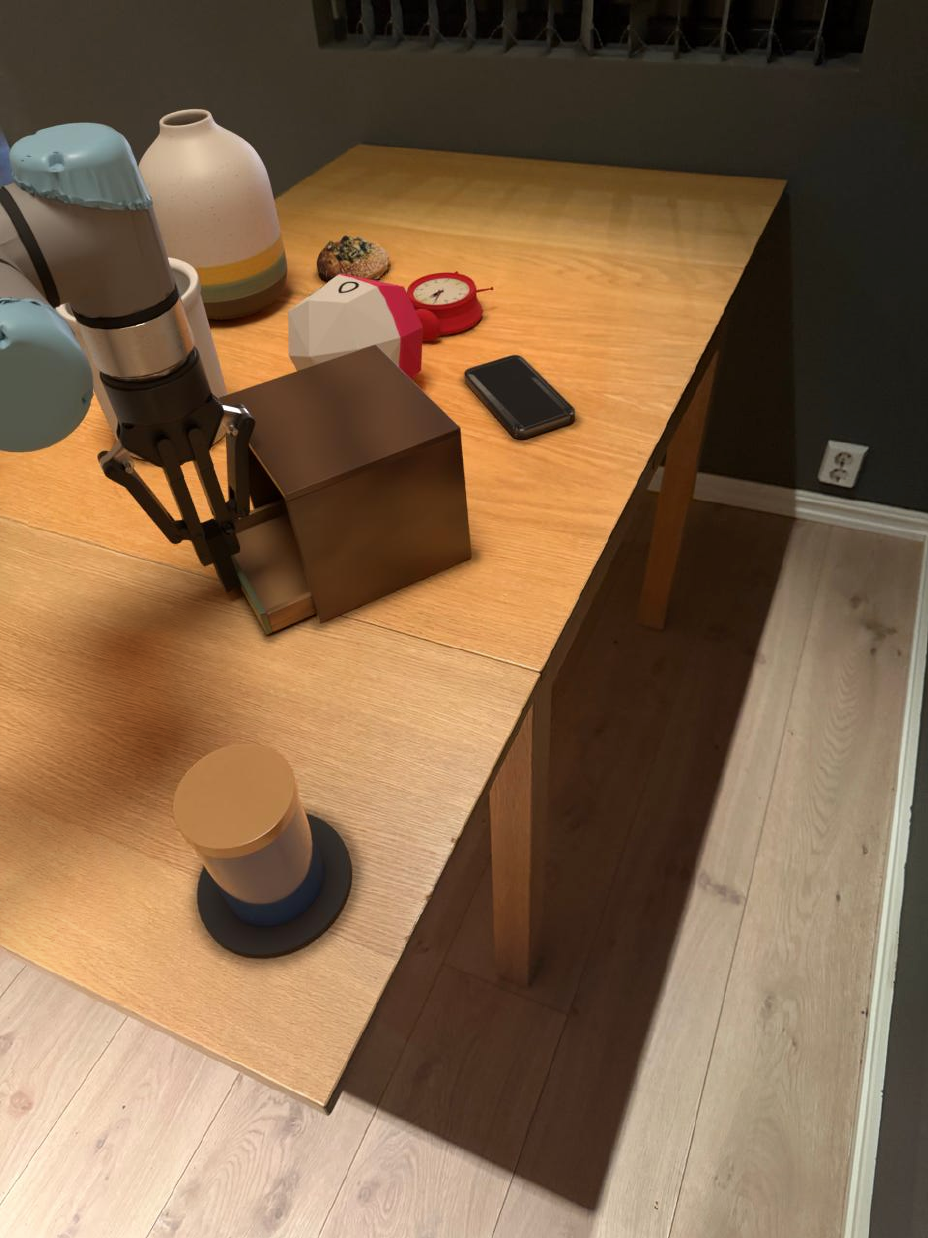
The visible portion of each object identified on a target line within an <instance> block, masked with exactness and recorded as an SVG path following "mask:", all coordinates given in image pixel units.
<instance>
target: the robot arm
mask: <svg viewBox="0 0 928 1238" xmlns="http://www.w3.org/2000/svg"><path fill="white" fill-rule="evenodd" d="M8 160H9V164H10V167H11V170H12V172H11V177H12V179H13V182H12V183H9V184H7V185H3V186H1V188H0V451H1V452H7V453H19V454H21V453H31V452H37V451H41V450H44V449H48V448H50V447H52V446H55V445H56V444H59V443H60V442H62V441H64V440H65V439H66V438H68V437H70V435H72V434H73V433H74V432H75V431H76V430H77V429H78V428H79V427H80V425H81V424H82V422H83V421H84V420H85V418H86V416H87V414H88V412H89V410H90V408H91V404H92V400H93V398H94V396H95V393H94V390H93V374H92V369H91V366H90V363H89V360H88V358H87V356H86V354H85V352H84V350H83V349H82V347H81V346H80V344H79V342H78V341H77V339H76V337H75V333H74V331H73V330H72V328H71V327H70V325H69V324H68V322H67V321H66V320H65V319H64V318H63V317H62V316H61V314H60V313H58V312H57V311H56V308H57V307H60V305H62V304H65V303H68V302H69V304H70V306H71V310H72V312H73V314H74V317H75V318H76V322H77V324H78V327H79V329H80V331H81V334H82V336H83V339H84V341H85V343H86V346H87V348H88V351H89V353H90V355H91V358H92V360H93V363H94V365H95V367H96V368H97V369H98V370H99V371H100V374H99V375H100V379H101V382H102V384H103V386H104V389H105V391H106V394H107V396H108V398H109V401H110V403H111V406H112V408H113V410H114V413H115V415H116V418H117V423H118V424H117V430H116V434H117V437H118V439H119V440H118V441H116V442H115V443H114V445H113V446H112V447H111V448H110V449H109V450H101V451H99V453H98V454H97V457H96V458H97V461H98V463H99V466H100V468H101V470H102V472H103V474H104V476H105V477H106V478H107V479H109V480H111V481H112V482H114V483H116V484H118V485H119V486H121V487H123V488H125V489H126V491H127V492H128V493H129V494H130V496H132V498H133V499H134V500H135V502H136V503H137V504H138V505H139V506H140V507H141V508H142V510H143V512H145V513H146V515H147V516H148V517H149V518H150V520H151V521H152V523H154V524H155V526H156V527H157V529H159V531H161V533H162V534H163V535H164V536H165V538H166V539H167V540H168V542H170V543H171V544H172V545H179V544H181V543H182V542H183V541H190V543H191V545H192V547H193V550H194V552H195V554H196V557H197V559H198V560H199V563H200V564H201V565H202V566H203V567H207V566H210V565H213V568H214V570H215V572H216V575H217V577H218V580H219V581H220V583H221V585H222V586H223V588H224V590H225V592H226V593H231V592H232V591H235V590H237V589H241V588H240V587H242V586H241V584H240V581H239V578H238V575H237V572H236V570H235V567H234V564H233V561H232V558H231V556H232V555H234V554H237V553H239V552H240V545H239V542H238V539H237V536H236V533H235V531H236V527H235V526H234V523H235V521H236V520H238V519H239V518H245V517H247V516H248V515H249V514H250V511H251V500H250V478H249V441H250V438H251V435H252V432H253V430H254V427H255V420H254V418H253V417H252V416H251V414H250V413H249V411H248V410H247V409H246V407H245V406H244V405H242V404H237V405H235V406H234V407H229V406H224V405H222V404H221V403H220V402H219V400H218V398H217V397H216V396H215V395H213V394H212V392H211V389H210V386H209V383H208V380H207V376H206V373H205V370H204V367H203V364H202V361H201V358H200V355H199V351H198V350H197V348H196V347H195V346H194V344H195V339H194V335H193V332H192V329H191V326H190V323H189V320H188V317H187V314H186V311H185V308H184V305H183V302H182V299H181V296H180V293H179V290H178V288H177V285H176V282H175V280H174V277H173V274H172V270H171V267H170V263H169V260H168V257H167V253H166V250H165V247H164V243H163V240H162V236H161V233H160V230H159V226H158V223H157V220H156V216H155V213H154V209H153V201H152V197H150V195H149V193H148V191H147V188H146V186H145V183H144V180H143V178H142V175H141V173H140V170H139V164H138V162H137V159H136V158H135V155H134V153H133V150H132V147H131V145H130V143H129V142H128V140H127V138H126V137H125V136H124V135H123V134H122V133H120V132H118V131H116V130H115V129H114V128H113V127H111V126H109V125H106V124H103V123H96V122H73V123H65V124H59V125H54V126H50V127H47V128H42V129H40V130H37V131H36V132H35V133H34V134H31V135H27V136H24V137H22V138H20V139H18V140H17V141H16V142H15V143H13V145H12V146H11V147H10V150H9V153H8ZM221 422H222V426H223V428H224V429H225V431H226V434H225V451H226V453H225V454H226V473H227V474H226V475H227V477H226V478H227V501H226V499H225V496H224V493H223V490H222V488H221V485H220V482H219V479H218V476H217V472H216V470H215V465H214V462H213V459H212V456H211V453H210V451H211V449H212V448H213V445H214V444H213V443H214V440H215V437H216V435H217V432H218V430H219V427H220V424H221ZM130 453H133V454H135V455H137V456H139V457H140V458H142V459H144V460H143V461H146V462H148V463H149V464H152V465H153V466H155V467H156V468H157V467H158V468H161V469H162V471H163V474H164V476H165V479H166V483H167V484H168V487H169V490H170V493H171V494H172V497H173V499H174V502H175V505H176V507H177V510H178V513H179V515H180V518H181V519H175V518H174V517H173V516H172V514H171V513H170V512H169V511H168V509H167V508H166V506H165V505H164V504H163V503H162V502H161V501H160V499H159V498H158V497H157V496H156V494H155V493H154V491H153V490H151V488H150V487H149V486H148V484H147V483H146V482H145V481H144V479H143V478H142V477H141V476H140V474H139V473H138V472H137V471H136V469H135V462H134V461H133V459H132V458H133V457H132V456H130ZM142 459H141V460H142ZM188 462H189V463H190V462H192V464H193V466H194V469H195V471H196V475H197V477H198V480H199V482H200V486H201V488H202V491H203V493H204V496H205V497H204V498H205V499H206V502H207V506H208V507H209V510H210V513H211V515H212V518H210V519H208V520H205V521H202V522H201V519H200V516H199V514H198V511H197V509H196V506H195V503H194V501H193V498H192V495H191V492H190V490H189V487H188V484H187V481H186V478H185V475H184V472H183V470H182V469H183V468H182V466H183V465H184V464H186V463H188Z"/></svg>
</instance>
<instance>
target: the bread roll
mask: <svg viewBox="0 0 928 1238" xmlns="http://www.w3.org/2000/svg"><path fill="white" fill-rule="evenodd" d="M389 265H390V255H389V254H388V252H387V250H386V249H385V248H384V247H382V246H381V245H380V244H378V243H376V242H373V241H369V240H363V239H362V237H360V236H356V238H354V237H353V236H350V235H348V234H347V235H343V237H342V238H341V239H340V240H337V241H336V242H334V241H333V240H332V239H330V240H329V242H327V243H326V245H325V246H324V247H323V248H322V250H321V251H320V252H319V254H318V256H317V259H316V268H317V270H316V271H317V273H318V277H319V278H320V279H322V280H324V281H328V282H329V281H330V280H332V279H333V278H334V277H336V276H337V275H339V274H340V273H341V274H346V275H351V276H356V277H361V278H365V279H370V280H377V279H380V278H381V277H382V275H383V274H384V273H385V272H386V271H387V270H389V269H388V266H389Z"/></svg>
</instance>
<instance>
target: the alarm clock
mask: <svg viewBox="0 0 928 1238" xmlns="http://www.w3.org/2000/svg"><path fill="white" fill-rule="evenodd" d="M486 291H494V286H491V287H488V288H479V289H477V286H476V283H475V281H474V280H473V279H472V278H471V277H469V276H468V275H465V274H462V273H459V271H454V272H450V271H449V272H448V271H447V272H445V271H443V272H436V273H430V274H427V275H424V276H421V277H419V278H417V279H415V280H413V281H412V282H411V283H410V284H409V285H408V287H407V289H406V292H407V294H408V296H409V298H410V301H411V303H412V305H413V307H414V309H415V311H416V313H417V315H418V317H419V320H420V322H421V324H422V326H423V339H422V342H433V341H435V340H437V338H438V337H439V336H443V335H451V334H456V333H460V332H463V331H466V330H467V329H470V328H472V327H473V326H474V325H476V324H477V323H478V322H479V321H480V320H481V319H482V317H483V306H482V304H481V303H480V300H479V299H478V296H477V294H478V293H481V292H482V293H483V292H486Z"/></svg>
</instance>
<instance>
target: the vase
mask: <svg viewBox="0 0 928 1238" xmlns="http://www.w3.org/2000/svg"><path fill="white" fill-rule="evenodd" d="M158 123H159V134H158V135H157V137H156V138H155V139H154V141H153V142H152V143H151V144H150V145H149V147H147V149H146V151H145V152H144V154H143V156H142V157H141V159H140V161H139V164H138V167H139V170H140V173H141V175H142V178H143V180H144V183H145V186H146V188H147V191H148V193H149V195H150V197H152V201H153V209H154V213H155V216H156V220H157V223H158V226H159V230H160V233H161V236H162V240H163V243H164V247H165V250H166V253H167V257H169V258H174V259H178V260H181V261H184V262H186V263H188V264H189V265H191V266H192V267H193V268H194V269H195V270H196V272H197V274H198V277H199V281H200V286H201V291H200V294H201V298H202V301H203V305H204V308H205V312H206V316H207V320H219V321H220V320H233V319H239V318H243V317H246V316H251V315H254V314H256V313H258V312H261V311H263V310H264V309H266V308H268V307H269V306H271V305H272V304H273V303H274V302H276V301H277V300H278V299H279V298H280V297H281V295H282V293H283V292H284V290H285V287H286V284H287V280H288V279H287V278H288V261H287V255H286V249H285V245H284V240H283V235H282V230H281V225H280V221H279V217H278V212H277V207H276V203H275V198H274V195H273V190H272V186H271V181H270V178H269V175H268V171H267V168H266V166H265V164H264V162H263V160H262V158H261V157H260V155H259V154H258V152H257V151H256V149H255V148H254V147H253V146H252V145H251V144H250V143H249V142H248V141H246V140H245V139H244V138H243V137H241V136H239V135H237V134H236V133H234V132H233V131H231V130H228V129H226V128H225V127H223V126H220V124H217V123H216V122H215V120H214V117H213V116H212V114H211V112H210V111H209V110H206V109H201V108H200V109H199V108H198V109H197V108H192V109H182V110H177V111H174V112H171V113H167V114H166V115H164V116H163V117H161V118H160V119H159V122H158Z"/></svg>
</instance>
